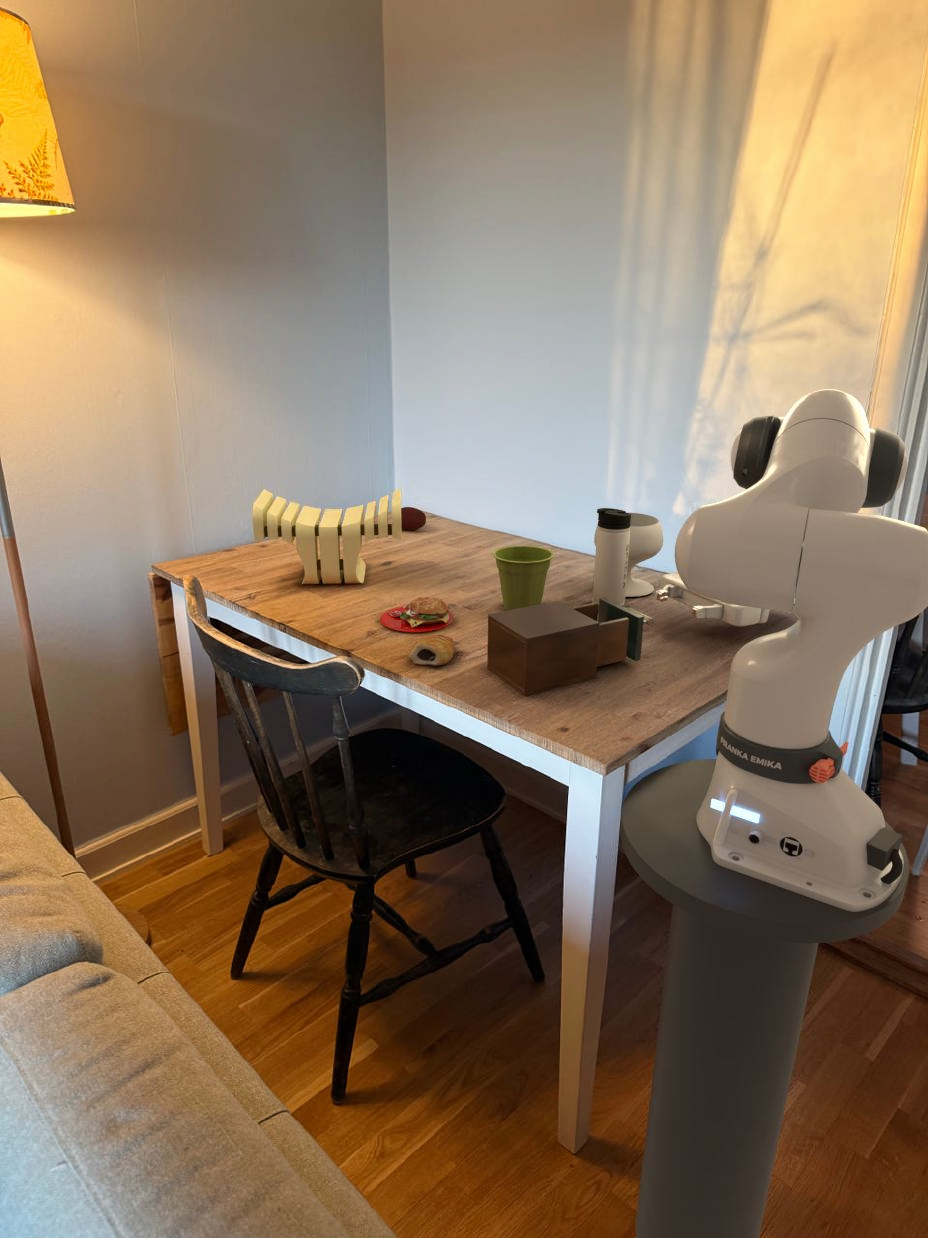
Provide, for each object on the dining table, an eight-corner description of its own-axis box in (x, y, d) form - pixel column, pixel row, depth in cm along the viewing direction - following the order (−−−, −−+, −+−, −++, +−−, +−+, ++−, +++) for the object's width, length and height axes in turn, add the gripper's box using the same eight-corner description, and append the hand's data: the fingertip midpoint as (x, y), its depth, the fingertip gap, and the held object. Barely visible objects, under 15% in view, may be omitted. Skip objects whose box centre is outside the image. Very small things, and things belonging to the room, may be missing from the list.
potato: (411, 524, 223) (411, 502, 221) (431, 530, 216) (431, 508, 214) (388, 528, 218) (388, 506, 216) (409, 535, 212) (408, 512, 210)
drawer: (621, 634, 148) (624, 593, 145) (660, 655, 139) (664, 612, 137) (543, 652, 140) (544, 609, 138) (579, 675, 132) (582, 630, 129)
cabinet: (554, 652, 143) (557, 600, 139) (596, 678, 133) (599, 622, 130) (487, 668, 136) (487, 614, 133) (525, 696, 127) (526, 638, 123)
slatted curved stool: (259, 589, 173) (251, 506, 166) (270, 566, 187) (263, 489, 181) (402, 587, 174) (400, 504, 168) (403, 564, 189) (400, 487, 183)
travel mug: (585, 604, 165) (591, 506, 158) (615, 600, 167) (622, 503, 160) (599, 614, 160) (606, 513, 152) (629, 611, 161) (637, 511, 154)
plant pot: (556, 600, 167) (558, 547, 163) (545, 621, 156) (548, 564, 152) (499, 595, 170) (500, 542, 166) (485, 615, 159) (486, 559, 155)
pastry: (427, 643, 146) (427, 623, 145) (463, 648, 144) (464, 628, 143) (407, 664, 138) (407, 643, 136) (445, 670, 136) (445, 648, 134)
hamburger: (439, 603, 165) (438, 574, 163) (464, 627, 153) (464, 597, 151) (371, 612, 161) (370, 582, 158) (391, 638, 148) (390, 606, 146)
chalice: (654, 603, 166) (661, 530, 160) (585, 595, 170) (589, 524, 164) (662, 582, 178) (668, 514, 172) (597, 575, 182) (602, 508, 177)
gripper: (694, 560, 159) (638, 571, 152) (779, 591, 142) (720, 605, 136) (691, 591, 161) (635, 603, 155) (773, 625, 144) (715, 640, 138)
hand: (675, 604), depth 145 cm, fingers open, 8 cm apart
